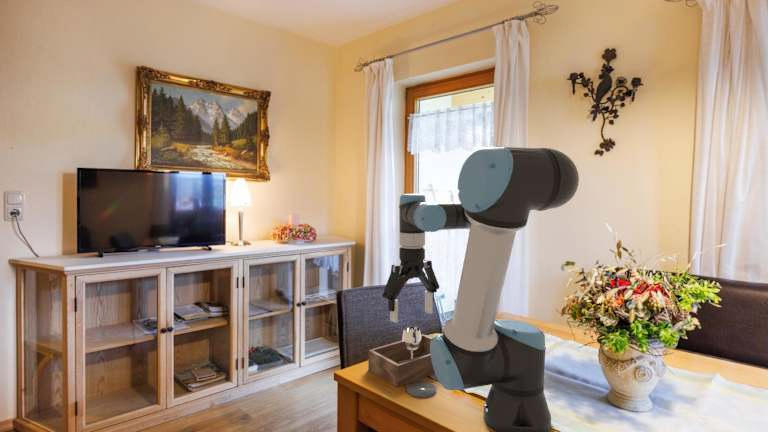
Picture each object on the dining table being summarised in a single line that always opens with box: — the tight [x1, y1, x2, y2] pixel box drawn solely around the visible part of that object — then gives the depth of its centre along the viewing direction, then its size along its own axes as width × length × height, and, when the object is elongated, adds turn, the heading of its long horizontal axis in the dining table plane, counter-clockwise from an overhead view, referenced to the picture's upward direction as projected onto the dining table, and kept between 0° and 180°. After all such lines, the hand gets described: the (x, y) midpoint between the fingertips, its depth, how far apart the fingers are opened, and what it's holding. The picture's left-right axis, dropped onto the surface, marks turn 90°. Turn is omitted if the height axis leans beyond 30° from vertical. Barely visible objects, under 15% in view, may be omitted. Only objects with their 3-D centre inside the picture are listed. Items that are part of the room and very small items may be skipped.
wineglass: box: [401, 326, 422, 360], centre depth 130 cm, size 6×6×12 cm
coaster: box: [405, 380, 437, 398], centre depth 117 cm, size 8×8×1 cm
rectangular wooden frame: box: [367, 333, 436, 388], centre depth 130 cm, size 14×22×6 cm, turn 127°
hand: (411, 317), depth 129 cm, fingers open, 13 cm apart
